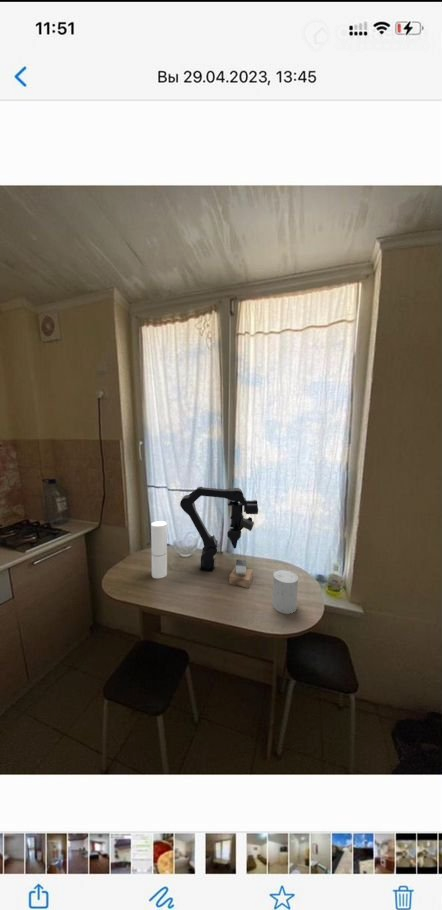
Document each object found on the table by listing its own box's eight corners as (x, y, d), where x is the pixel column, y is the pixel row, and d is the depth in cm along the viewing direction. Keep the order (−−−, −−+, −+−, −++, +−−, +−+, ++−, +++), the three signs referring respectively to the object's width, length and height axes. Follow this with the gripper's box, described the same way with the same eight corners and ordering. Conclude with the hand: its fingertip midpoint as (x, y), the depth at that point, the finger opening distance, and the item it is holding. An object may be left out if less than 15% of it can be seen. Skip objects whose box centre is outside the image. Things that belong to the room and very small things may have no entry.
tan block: (229, 584, 113) (229, 576, 112) (234, 574, 121) (235, 566, 121) (248, 588, 110) (249, 580, 110) (253, 577, 118) (253, 569, 118)
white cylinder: (278, 594, 106) (279, 566, 105) (300, 604, 100) (302, 575, 99) (267, 606, 98) (268, 576, 97) (290, 617, 92) (292, 586, 91)
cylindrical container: (168, 570, 123) (168, 521, 121) (164, 579, 116) (163, 526, 114) (154, 569, 123) (154, 520, 121) (149, 577, 116) (148, 525, 114)
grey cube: (235, 575, 113) (236, 564, 113) (236, 569, 118) (236, 559, 117) (245, 576, 113) (246, 565, 112) (246, 570, 117) (246, 560, 117)
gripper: (251, 521, 113) (250, 554, 114) (254, 509, 131) (253, 538, 133) (227, 519, 115) (226, 551, 117) (233, 508, 134) (233, 536, 135)
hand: (236, 544), depth 125 cm, fingers open, 9 cm apart
